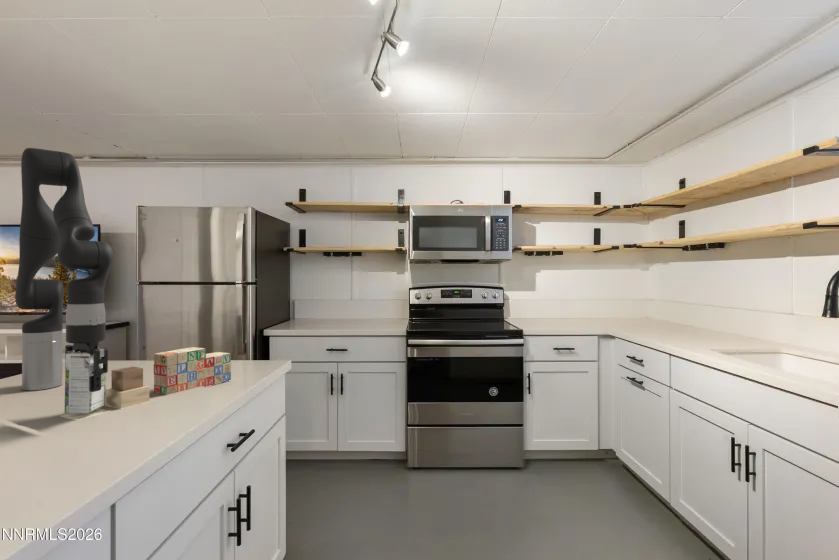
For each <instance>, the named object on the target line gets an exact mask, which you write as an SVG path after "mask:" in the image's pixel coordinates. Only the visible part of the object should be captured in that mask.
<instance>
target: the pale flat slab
mask: <svg viewBox="0 0 839 560" xmlns="http://www.w3.org/2000/svg"><path fill="white" fill-rule="evenodd" d="M149 402H151V400H149V401H148V402H144V403H141V404H137V405H142V404H145V403H149ZM137 405H133V406H129V407H125V408H122V409H121V408H117V407H112V406H108V405H105V407H110V408H114V409H119V410H123V409H126V408H131V407H135V406H137ZM112 412H113V410H109V409H104V408H102V407H101V408H99V409H97V410H94V411H92V412H90V413H64V414H61V415H60V417H61V418H65V419H68V420H71V421H75V422H77V421H81V420H85V419H89V418H93V417H97V416H100V415H105V414H108V413H112Z"/></svg>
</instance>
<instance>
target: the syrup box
mask: <svg viewBox="0 0 839 560" xmlns="http://www.w3.org/2000/svg"><path fill="white" fill-rule="evenodd" d="M81 354H82V355H81ZM84 358H85V359H86V361H87V362H88V363H89V364H91V363H93V355H92V356H91V355H90V354H88V353H78V352H71V353H67V354H66V364H65V366H64V368H65V369H64V411H63V412H64V414H69V413H90V412H92V411H94V410H97V409H99V408H101V409H102V408H103V407H104V406H105V390H106V384H107V383H106V382H107V379H106V378H107V377H106V376H107V373H103V374H102V375H101V390H99V391H95V392H90V391H89V377H90V375H89V372H88V368H86V369H85V368H84V364H85V363H84ZM101 366H102V368H103V363H102V365H101ZM92 368H93V367H92ZM105 407H106V406H105Z"/></svg>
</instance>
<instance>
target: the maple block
mask: <svg viewBox="0 0 839 560" xmlns="http://www.w3.org/2000/svg"><path fill="white" fill-rule="evenodd" d="M148 401H150V385H149V386H148V385H144V384H143V387H140V388H136V389H131V390H127V391H118V390H113V389H111V388H105V405H108V406H107V407H109V406H112V407H111V408H114V407H117V408H116V409H118V408H121V409H120V410H123V409H126V408H125V407H127V408H130V407H129V406H131V407H134V406H133V405H135V406H137V404H139V405H142V404H145V403H144V402H146V403H149V402H148ZM141 403H142V404H141ZM122 408H123V409H122Z"/></svg>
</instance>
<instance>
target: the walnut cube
mask: <svg viewBox="0 0 839 560" xmlns="http://www.w3.org/2000/svg"><path fill="white" fill-rule="evenodd" d="M143 385H144V367H138V366H127V367H122V368H116V369H112V370H111V389H113V390H118V391H127V390H131V389H136V388H140V387H143Z"/></svg>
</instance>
